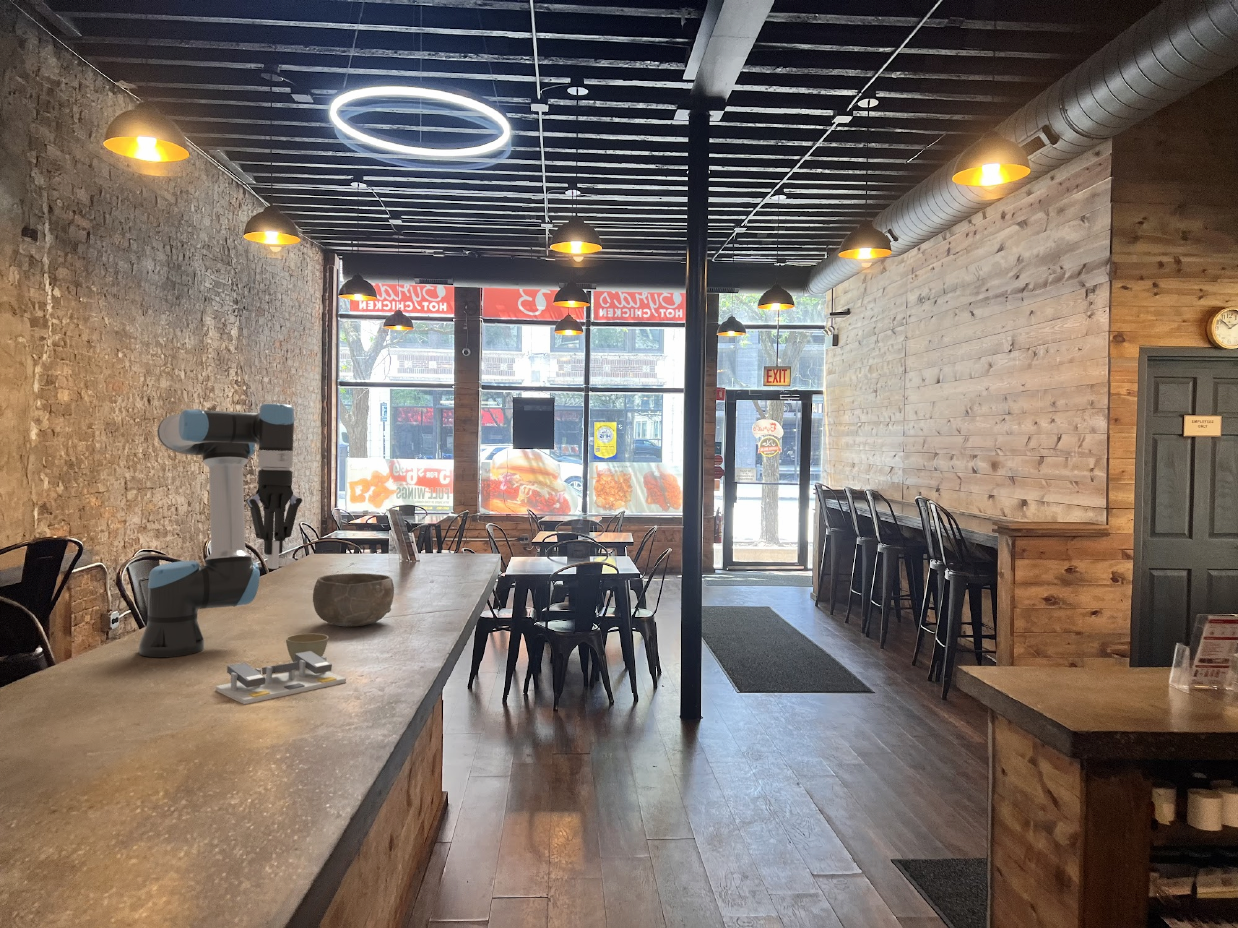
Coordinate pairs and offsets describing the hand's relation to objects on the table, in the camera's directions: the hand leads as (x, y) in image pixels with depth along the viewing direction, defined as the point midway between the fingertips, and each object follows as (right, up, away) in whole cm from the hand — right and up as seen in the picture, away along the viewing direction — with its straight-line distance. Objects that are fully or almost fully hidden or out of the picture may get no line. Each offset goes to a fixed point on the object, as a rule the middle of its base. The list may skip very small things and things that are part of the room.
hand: (272, 567), depth 191 cm
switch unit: (+5, -27, -6) cm, 28 cm away
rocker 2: (+4, -23, -5) cm, 23 cm away
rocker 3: (+9, -23, +1) cm, 24 cm away
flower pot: (+3, -27, +13) cm, 30 cm away
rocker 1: (-1, -23, -11) cm, 25 cm away
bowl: (-1, -26, +61) cm, 66 cm away
